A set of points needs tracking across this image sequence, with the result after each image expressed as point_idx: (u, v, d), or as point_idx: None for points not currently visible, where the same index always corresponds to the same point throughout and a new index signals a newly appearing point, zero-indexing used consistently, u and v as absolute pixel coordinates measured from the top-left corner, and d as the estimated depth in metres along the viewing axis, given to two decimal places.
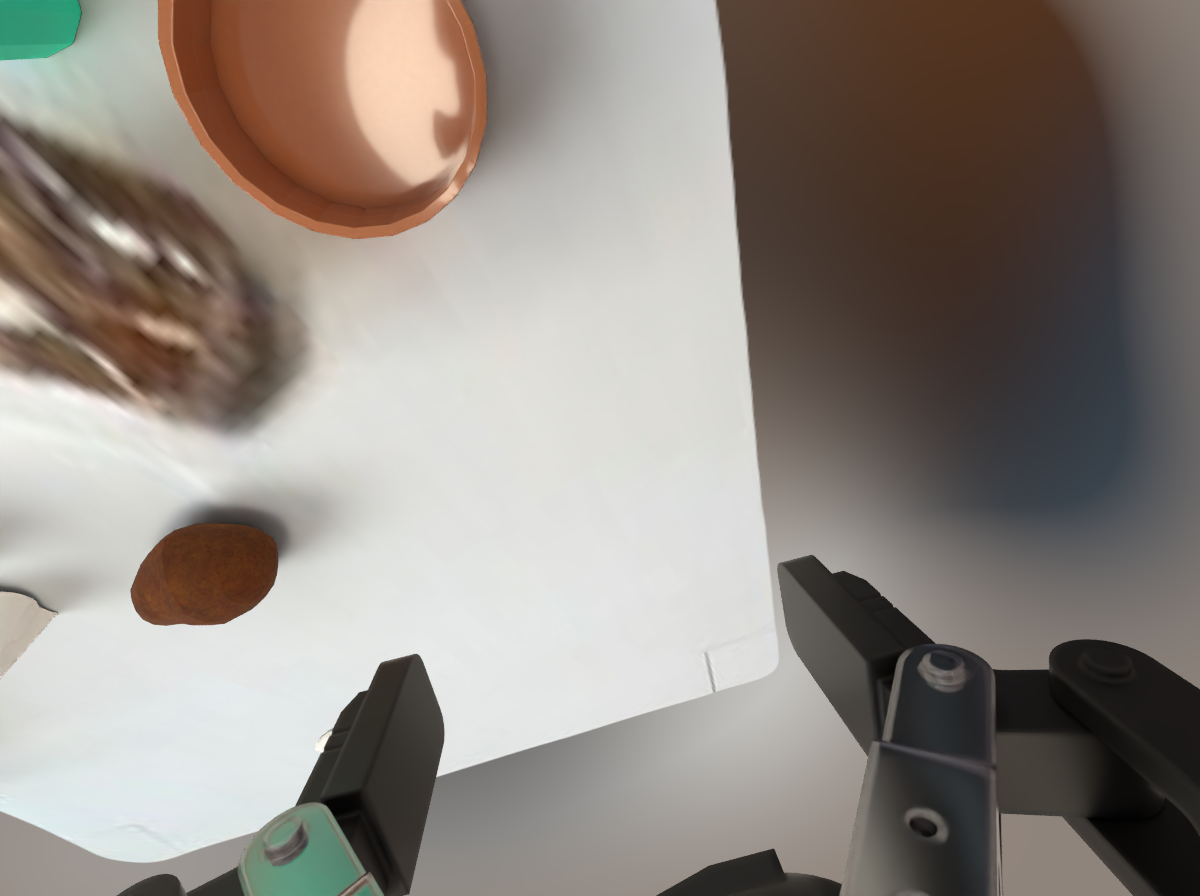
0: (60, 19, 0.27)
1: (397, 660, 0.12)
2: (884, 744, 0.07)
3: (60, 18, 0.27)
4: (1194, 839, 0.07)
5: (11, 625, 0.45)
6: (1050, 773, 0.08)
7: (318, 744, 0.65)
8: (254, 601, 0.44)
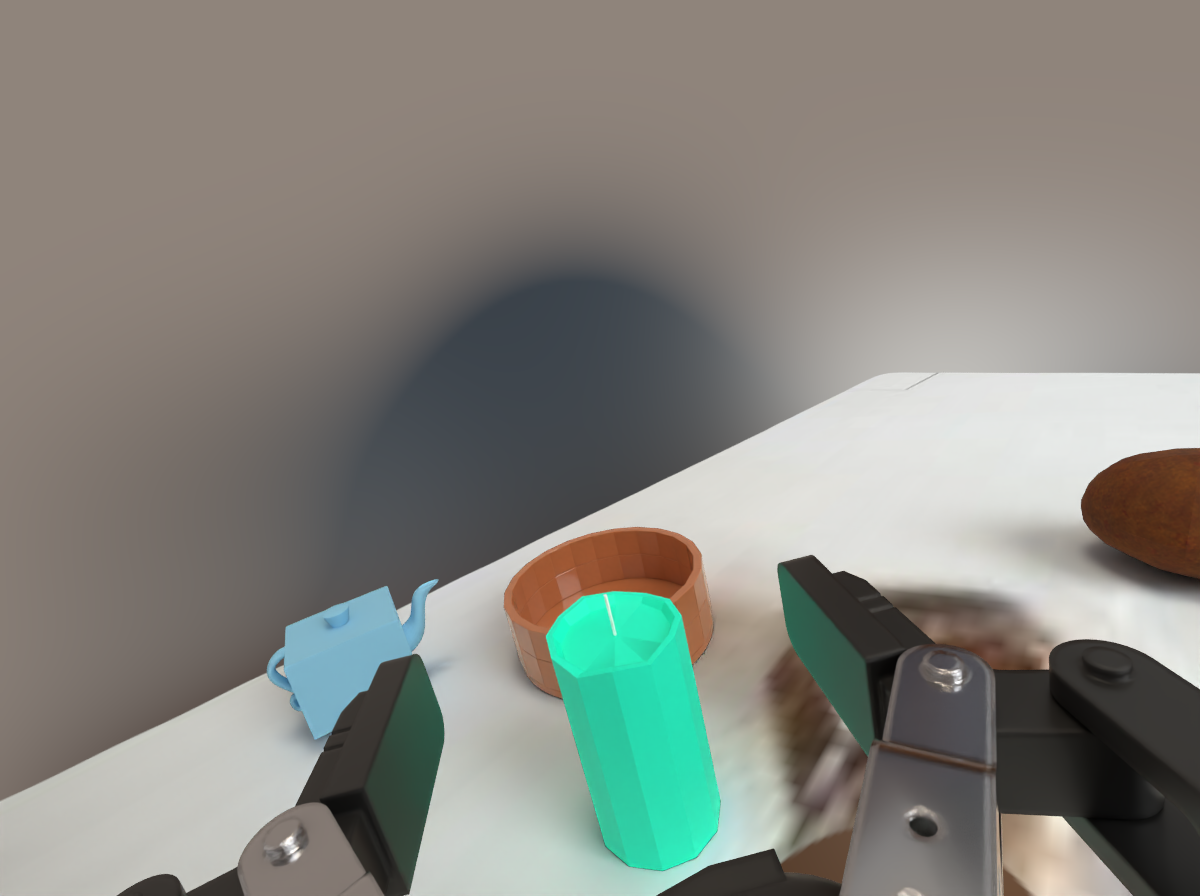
0: None
1: (397, 660, 0.12)
2: (884, 744, 0.07)
3: None
4: (1194, 840, 0.07)
5: None
6: (1050, 773, 0.08)
7: None
8: None
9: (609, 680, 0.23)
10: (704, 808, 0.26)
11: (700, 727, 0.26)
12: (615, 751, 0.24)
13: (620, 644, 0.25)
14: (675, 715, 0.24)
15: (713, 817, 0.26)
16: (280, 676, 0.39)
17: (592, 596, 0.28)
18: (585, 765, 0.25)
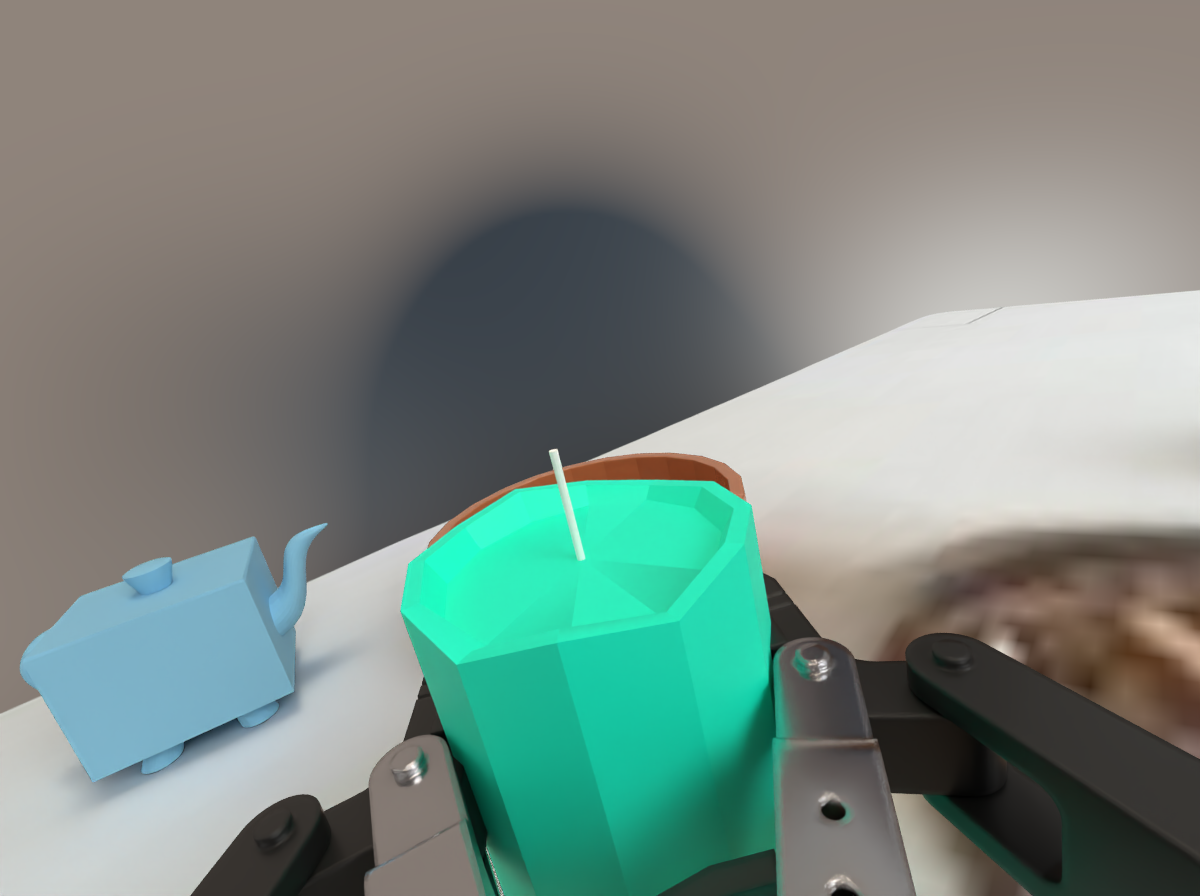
0: None
1: None
2: (783, 741, 0.07)
3: None
4: (1035, 800, 0.08)
5: None
6: (902, 754, 0.08)
7: None
8: None
9: (550, 667, 0.07)
10: None
11: None
12: (577, 875, 0.08)
13: (592, 578, 0.09)
14: (744, 768, 0.09)
15: None
16: None
17: (536, 489, 0.12)
18: (507, 890, 0.10)
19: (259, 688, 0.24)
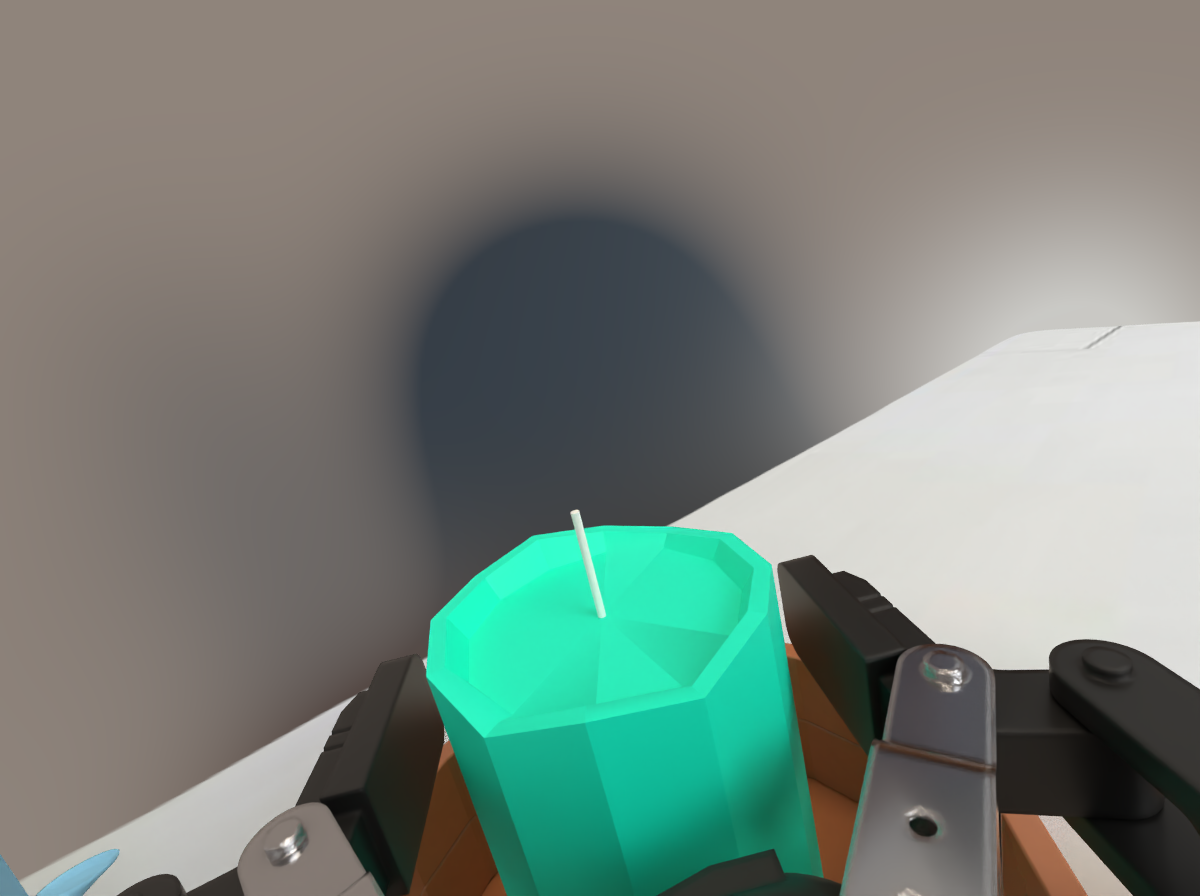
0: None
1: (397, 660, 0.12)
2: (884, 744, 0.07)
3: None
4: (1194, 839, 0.07)
5: None
6: (1050, 773, 0.08)
7: None
8: None
9: (578, 746, 0.07)
10: None
11: (813, 844, 0.11)
12: None
13: (614, 640, 0.09)
14: (766, 833, 0.09)
15: None
16: None
17: (554, 536, 0.13)
18: None
19: None
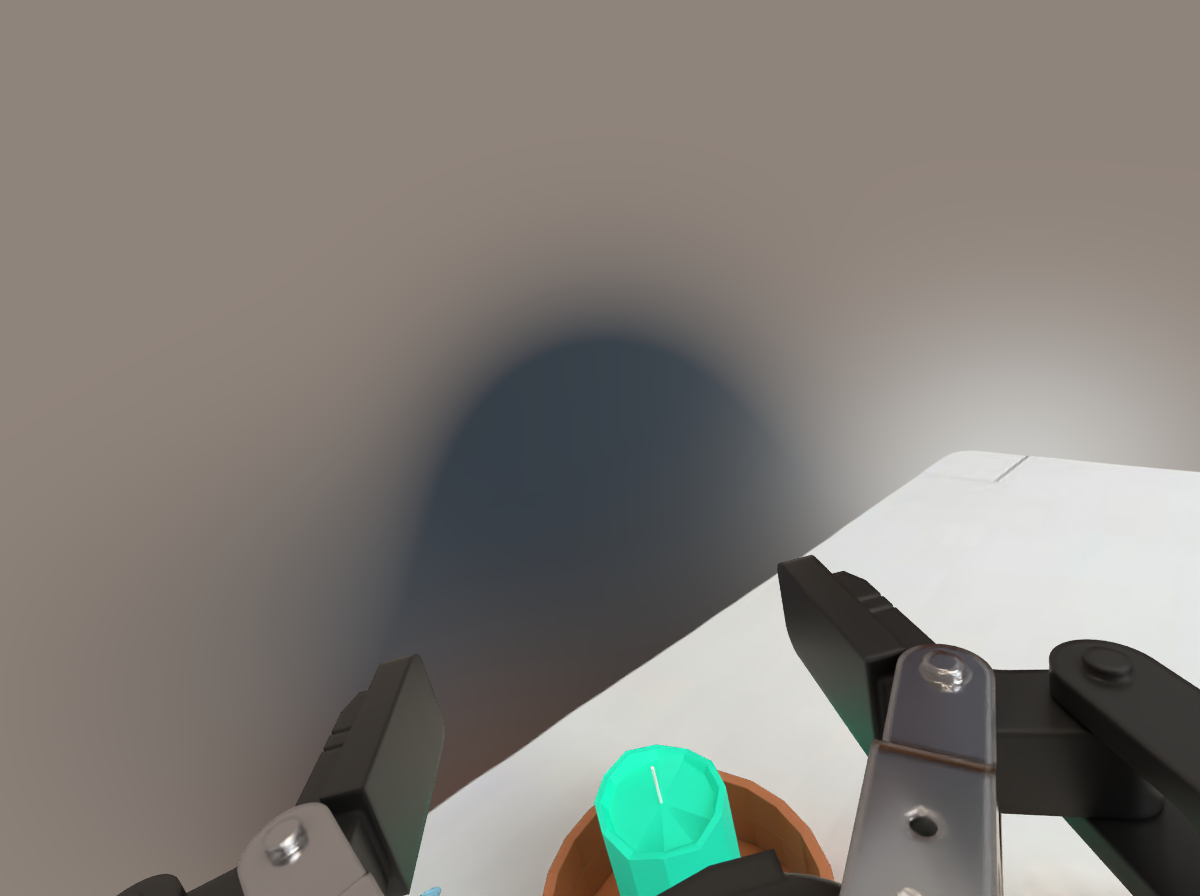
0: None
1: (397, 660, 0.12)
2: (884, 744, 0.07)
3: None
4: (1194, 839, 0.07)
5: None
6: (1050, 773, 0.08)
7: None
8: None
9: (660, 865, 0.24)
10: None
11: None
12: None
13: (667, 816, 0.26)
14: None
15: None
16: None
17: (635, 752, 0.29)
18: None
19: None
